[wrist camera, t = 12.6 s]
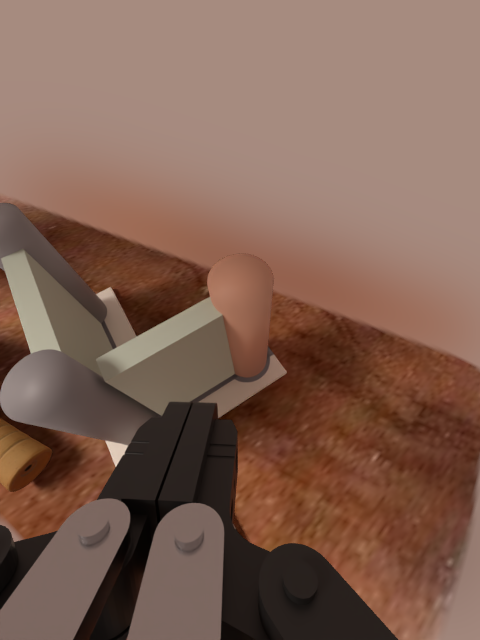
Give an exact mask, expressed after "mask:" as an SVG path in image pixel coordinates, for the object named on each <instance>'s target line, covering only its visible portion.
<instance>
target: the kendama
mask: <svg viewBox="0 0 480 640" xmlns="http://www.w3.org/2000/svg"><path fill="white" fill-rule="evenodd" d="M51 455H52V450H51V449H50V448H49V447H47V446H45V445H43V444H42V443H40V442H38V441H37V440H35V439H33V438H31V437H30V436H28V435H27V434H25V433H23V432H21V431H20V430H18V429H17V428H15V427H14V426H12V425H10V424H9V423H7V422H6V421H4V420H3V419H1V418H0V483H1V484H2V485H3V486H4V487H5V488H6V489H7V490H8V491H10V492H15V491H17V490H20V489H22V488H23V487H25V486H26V485H28V484H29V483H30V482H32V481H33V480H34V479H35V478H36V477H37V476H38V475H39V474H40V473H41V472H42V470H43V469H44V468H45V467H46V465H47V464H48V462H49V460H50V458H51Z"/></svg>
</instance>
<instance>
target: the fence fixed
mask: <svg viewBox="0 0 480 640" xmlns="http://www.w3.org/2000/svg"><path fill="white" fill-rule="evenodd" d="M0 268H1V269H2V270H4V271H5V273H6V276H7V279H8V283H9V286H10V289H11V292H12V295H13V298H14V302H15V305H16V308H17V311H18V314H19V317H20V321H21V324H22V327H23V330H24V333H25V336H26V340H27V343H28V346H29V349H30V352H31V354H30V355H28V356H26V357H24V358H23V359H22V360H20V361H19V362H18V363H17V364H16V365H15V366H14V367H13V368H12V369H11V370H10V371H9V373H8V374H7V376H6V378H5V380H4V382H3V384H2V387H1V391H0V404H1V407H2V410H3V411H4V413H5V414H6V415H7V416H8V417H9V418H10V419H12V420H14V421H17V422H21V423H26V424H31V425H35V426H40V427H45V428H49V429H54V430H59V431H63V432H68V433H73V434H77V435H82V436H87V437H91V438H96V439H101V440H106V441H110V442H115V443H120V444H124V445H129V444H130V443H131V440H132V439H133V437H134V435H135V433H136V432H137V430H138V428H139V427H140V426H142V425H143V424H144V423H145V422H146V421H148V420H149V419H150V418H151V417H159V416H158V414H157V413H156V412H155V411H153V410H151V409H149V408H148V407H146V406H144V405H143V404H141V403H139V402H138V401H136V400H134V399H133V398H131V397H129V396H128V395H126V394H124V393H123V392H121V391H119V390H118V389H116V388H114V387H113V386H111V385H109V384H108V383H106V382H105V381H104V378H103V376H102V374H101V371H100V369H99V366H98V364H97V362H96V359H97V358H99V357H100V356H102V355H104V354H106V353H108V352H110V351H111V350H113V348H112V346H111V344H110V342H109V340H108V337H107V335H106V333H105V331H104V329H103V327H102V324H101V323H102V322H103V321H104V320H105V318H106V315H107V308H106V305H105V304H104V303H103V302H102V301H101V299H100V298H99V297H98V296H97V295H96V294H95V293H94V292H93V291H92V289H91V288H90V287H89V286H88V285H87V284H86V283H85V282H84V281H83V279H82V278H81V277H80V276H79V275H78V274H77V273H76V272H75V271H74V269H73V268H72V267H71V266H70V265H69V264H68V263H67V262H66V261H65V259H64V258H63V257H62V256H61V255H60V254H59V253H58V252H57V251H56V249H55V248H54V247H53V246H52V245H51V244H50V243H49V242H48V241H47V240H46V238H45V237H44V236H43V235H42V234H41V233H40V232H39V231H38V230H37V228H36V227H35V226H34V225H33V224H32V223H31V222H30V221H29V220H28V218H27V217H26V216H25V215H24V214H23V213H22V212H21V211H20V210H19V208H18V207H16V206H15V205H13V204H9V203H0Z"/></svg>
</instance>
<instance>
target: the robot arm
mask: <svg viewBox="0 0 480 640" xmlns="http://www.w3.org/2000/svg"><path fill="white" fill-rule="evenodd" d="M237 473H238V448H237V430H236V428H235V425H234V423H233V421H232V420H220V419H218V406H217V403H204V402H194V403H193V402H169V403H168V405H167V407H166V409H165V411H164V413H163V415H162V417H161V418H160V417H151V418H150V419H149V420H148V421H146V422H145V423H144V424H143V425H142V426H140V427H139V428H138V430H137V432H136V433H135V435H134V437H133V439H132V440H131V443H130V444H129V445H128V447H127V449H126V451H125V454H124V455H123V456H122V458H121V459H120V461H119V463H118V464H117V466H116V468H115V470H114V471H113V473H112V475H111V476H110V478H109V480H108V482H107V483H106V485H105V487H104V488H103V490H102V492H101V494H100V495H99V497H98V499H97V500H96V501H93V502H90V503H88V504H86V505H84V506H82V507H81V508H79V509H78V510H76V511H75V512H74V513H73V514H72V515H70V516H69V517H68V518H67V520H66V521H65V522H64V523H63V524H62V526H61V527H60V529H59V530H58V531H55V532H52V533H49V534H45V535H41V536H37V537H33V538H29V539H25V540H21V541H17V542H14V541H13V538H12V535H11V532H10V531H9V529H7V528H6V527H5V526H2V525H0V640H398V639H397V638H396V637H395V636H394V634H393V633H392V632H391V631H390V630H389V629H388V628H387V627H386V626H385V624H384V623H383V622H382V621H381V620H380V619H379V618H378V617H377V616H376V614H375V613H374V612H373V611H372V610H371V609H370V608H369V607H368V606H367V604H366V603H365V602H364V601H363V600H362V599H361V598H360V597H359V595H358V594H357V593H356V592H355V591H354V590H353V589H352V588H351V587H350V585H349V584H348V583H347V582H346V581H345V580H344V579H343V578H342V577H341V575H340V574H339V573H338V572H337V571H336V570H335V569H334V568H333V567H332V565H331V564H330V563H329V562H328V561H327V560H326V559H325V558H324V557H323V556H322V555H321V554H320V553H318V552H317V551H315V550H314V549H312V548H310V547H308V546H305V545H302V544H296V543H290V544H284V545H281V546H279V547H277V548H275V549H274V550H272V551H271V552H269V551H267V550H265V549H262V548H260V547H258V546H256V545H254V544H252V543H250V542H248V541H247V540H245V539H244V538H243V537H242V536H241V535H240V534H239V533H238V532H237V530H236V529H235V527H234V525H233V520H234V508H235V497H236V485H237Z"/></svg>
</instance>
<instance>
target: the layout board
mask: <svg viewBox="0 0 480 640" xmlns="http://www.w3.org/2000/svg"><path fill="white" fill-rule="evenodd" d="M96 295H97V296H98V297H99V298H100V299H101V301H102V302H103V303H104V304H105V305H106V308H107V315H106V318H105V320H104V321H103V322H102V323H101V324H102V327H103V329H104V331H105V333H106V335H107V337H108V340H109V342H110V344H111V346H112V348H113V349H115V348H117V347H119V346H121V345H122V344H124V343H126V342H128V341H130V340H132V339H133V338H135V337H137V336H136V334H135V332H134V330H133V328H132V326H131V324H130V322H129V320H128V318H127V317H126V315H125V313H124V311H123V309H122V307H121V305H120V303H119V301H118V299H117V297H116V295H115V293H114V291H113V289H112V288H111V287H109V288H107V289H105V290H103V291H101V292H99V293H98V294H96ZM285 374H287V371H286V370H285V369H284V367H283V366H282V365H281V363H280V362H279V361H278V359H277V358H276V356H275V355H274V353H273V352H272V351H271V349H270V348H269V347H268V349H267V360H266V365H265V367H264V369H263V370H262V371H261V372H260V373H259V374H258V375H256V376H253V377H248V378H246V377H240V376H238V375H236V374H234V375H232V376H231V377H229V378H227V379H226V380H224V381H222V382H221V383H219V384H218V385H216V386H214V387H213V388H211V389H210V390H208V391H206V392H205V393H203V394H202V395H200V396H198V397H197V398H195V399H193V400H192V401H190V402H193V403H194V402H204V403H217V406H218V418H219V417H221V416H223V415H224V414H226V413H227V412H229V411H230V410H232V409H233V408H235V407H236V406H238V405H239V404H241V403H242V402H244V401H245V400H247V399H248V398H250V397H252V396H253V395H255V394H256V393H258V392H259V391H261V390H262V389H264V388H265V387H267V386H268V385H270V384H271V383H273V382H274V381H276V380H277V379H279V378H281V377H282V376H284V375H285ZM157 414H158V413H157ZM158 416H159V417H160V418H161V417H162V416H161V415H160V414H158ZM105 441H106V440H105ZM106 443H107V446H108V448H109V451H110V454H111V456H112V459H113V461H114V464H115V466H117V464H118V463H119V461H120V459H121V458H122V456H123V455H124V454H125V451H126V449H127V447H128V445H124V444H120V443H115V442H110V441H106ZM233 525H234V524H233ZM234 527H235V526H234ZM235 529H236V528H235Z"/></svg>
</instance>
